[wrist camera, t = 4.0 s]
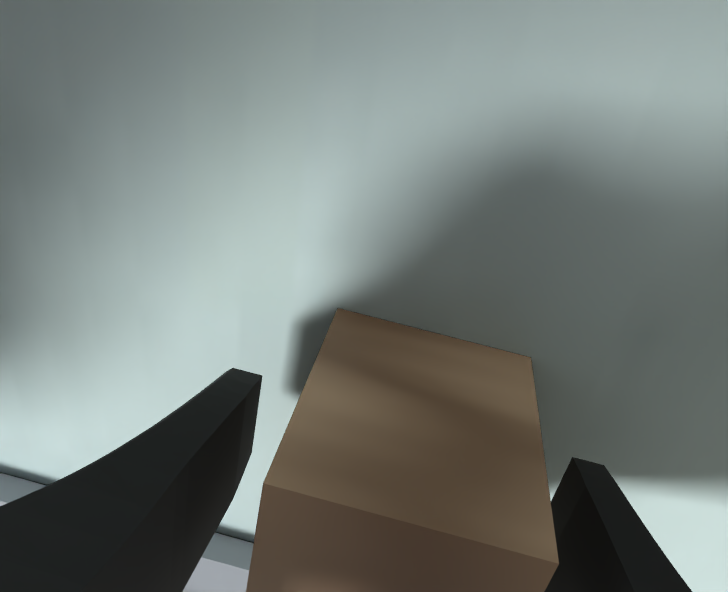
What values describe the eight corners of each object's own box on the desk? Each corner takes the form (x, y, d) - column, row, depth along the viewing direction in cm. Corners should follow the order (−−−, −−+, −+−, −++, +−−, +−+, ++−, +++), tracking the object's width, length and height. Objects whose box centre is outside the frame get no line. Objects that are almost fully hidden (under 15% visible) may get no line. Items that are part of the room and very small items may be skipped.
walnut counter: (308, 451, 15) (235, 657, 10) (337, 307, 13) (263, 483, 8) (475, 496, 14) (474, 725, 10) (530, 356, 12) (559, 563, 8)
